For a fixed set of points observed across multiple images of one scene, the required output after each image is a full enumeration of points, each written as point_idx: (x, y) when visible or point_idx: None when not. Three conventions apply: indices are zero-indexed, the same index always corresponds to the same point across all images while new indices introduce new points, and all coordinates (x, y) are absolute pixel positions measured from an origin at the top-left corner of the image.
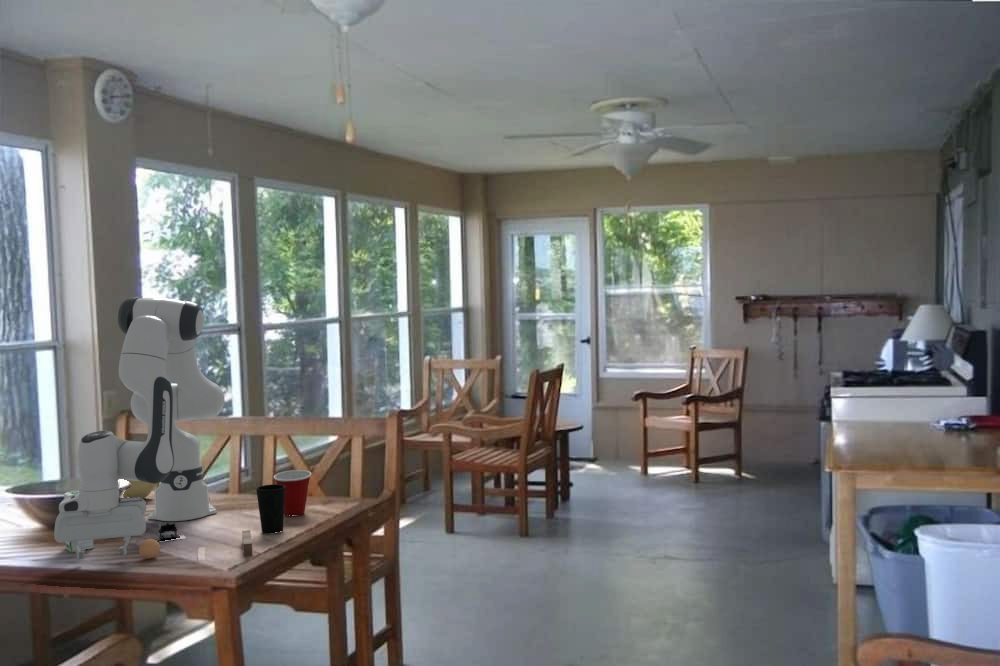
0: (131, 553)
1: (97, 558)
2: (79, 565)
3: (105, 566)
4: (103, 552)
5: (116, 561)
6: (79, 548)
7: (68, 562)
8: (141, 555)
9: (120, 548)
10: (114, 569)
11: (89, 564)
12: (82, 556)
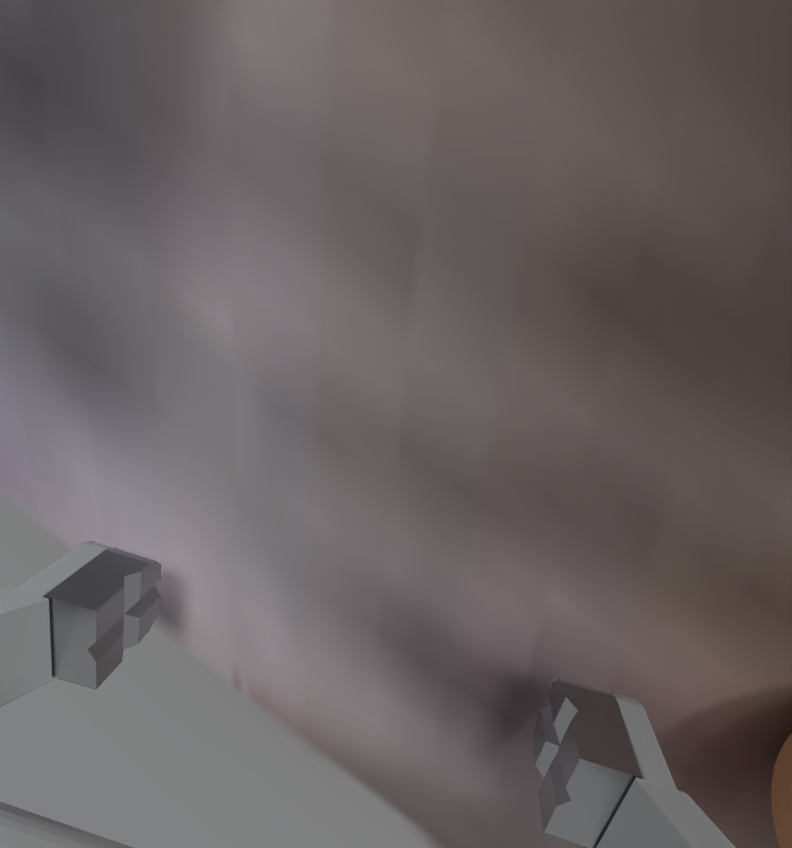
0: (763, 371)
1: (328, 362)
2: (160, 532)
3: (379, 707)
4: (428, 42)
5: (499, 616)
6: (8, 613)
7: (42, 344)
8: (771, 795)
9: (560, 835)
10: (436, 826)
11: (246, 556)
12: (125, 641)
